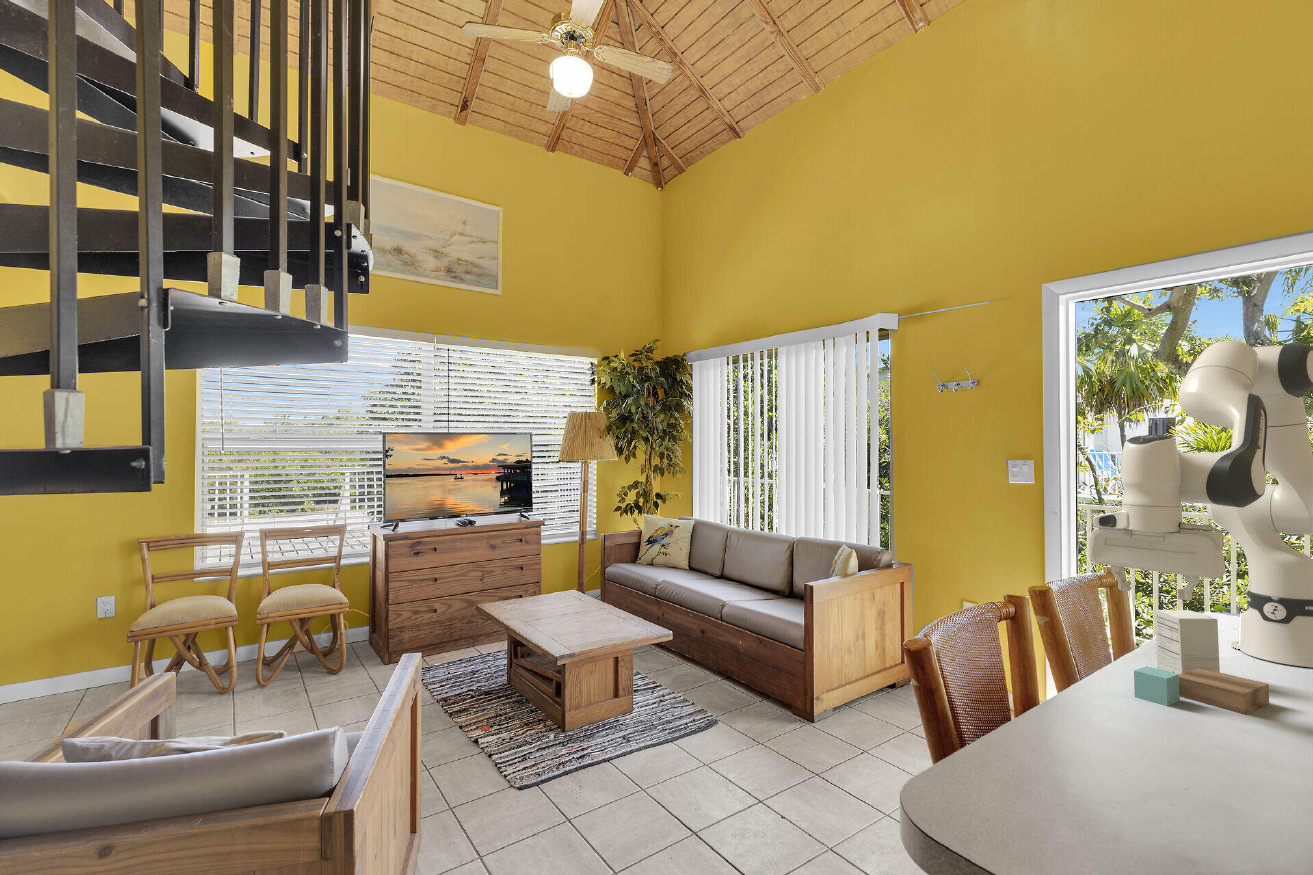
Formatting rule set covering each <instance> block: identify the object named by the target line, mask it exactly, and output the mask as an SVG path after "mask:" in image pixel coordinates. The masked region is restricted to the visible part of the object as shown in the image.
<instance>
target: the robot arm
mask: <svg viewBox="0 0 1313 875" xmlns="http://www.w3.org/2000/svg"><path fill="white" fill-rule="evenodd" d="M1312 389H1313V347H1312V346H1311V345H1309V344H1306V343H1305V344H1304V343H1303V344H1302V343H1286V344H1284V345H1265V346H1264V345H1263V346H1251V345H1250V344H1247V343H1245V342H1241V341H1236V340H1223V341H1218V342H1215V343H1213V344H1211V345H1209V346H1207V347H1206V348H1205V349H1204V350H1203V351H1202V352H1201V353H1200V355H1199V356H1197V357H1196V358H1194V359H1193V360H1192V361H1191V362H1190V363H1189V364H1187V366H1186V369H1185V370H1184V378H1183V380H1182V382H1181V385H1180V387H1179V390H1178V396H1177V398H1178V403H1179V405H1180V406H1179V407H1181V409H1182V410H1183V412H1184V413H1186V414H1187V415H1188V416H1189V417H1190V418H1192V419H1193V420H1195V421H1197V422H1199V423H1201V424H1202V423H1203V424H1204V425H1209V426H1215V427H1222V428H1225V429H1226V428H1227V429H1230V430H1232V436H1231V446H1230V448H1228V449H1225V450H1221V451H1216V452H1181V451H1180V450H1178V446H1177V442H1176V438H1175V437H1174V436H1172V435H1169V434H1146V435H1137V436H1133V437H1130V438H1129V439H1127V440H1125V441H1124V444H1123V447H1122V454H1121V462H1120V482H1121V485H1122V489H1123V496H1122V499H1121V510H1117V511H1112V512H1109V513H1104V514H1099V515H1096V516H1094V517H1093V518H1092V523H1093V524H1092V525H1093V526H1095V528H1094V529H1092V531H1091V533H1090V536H1089V544H1088V545H1089V548H1088V552H1089V553H1088V555H1089V559H1090V560H1091V561H1092V562H1093V564H1097V565H1105V566H1110V572H1111V573H1112V576H1114V578H1115V580H1116V581H1117V585H1118V586H1117V589H1118V590H1119V591H1124V592H1125V591H1126V592H1130V591H1131V590H1132V586H1131V585H1132V581H1131V580H1127V579H1126V577H1125V576H1124V574H1123V572H1125V568H1128V569H1136V570H1143V571H1152V572H1160V573H1167V574H1173V575H1174V574H1175V575H1181V576H1182V575H1183V576H1184V581H1185V582H1187V584H1186V586H1185V587H1184V588H1179V589H1177V594H1178V596H1177V599H1178V600H1182V601H1188V602H1189V601H1192V599H1193V591H1194V589H1195V588H1196V587H1197V585H1198V584H1199V583H1200V581H1201V580H1200V578H1204V579H1205V578H1206V579H1212V580H1213V579H1218V578H1221V577H1222V576H1224V575H1225V573H1226V562H1225V558H1224V552H1223V548H1224V544H1225V542H1224V541H1225V540H1224V538H1225V537H1224V534H1223V532H1222V531H1221V530H1220V529H1218V528H1217V527H1213V525H1211V524H1196V523H1192V522H1191V523H1189V522H1187V523H1186V522H1183V507H1182V506H1183V504H1182V503H1187V504H1203V505H1205V507H1206V508H1205V509H1206V512H1207V514H1208V515H1209V517H1210V519H1211V520H1212V521H1213V522H1214V523H1215V524H1217V525H1218V526H1220V528H1223V529H1224V530H1226V531H1227V532H1228V533H1229V534H1230V535H1232V537H1233V538H1234V539H1235V540H1236V542H1237V543H1238V544H1239V546H1240V547H1241V548H1242V551H1243V552H1244V555H1245V558H1246V559H1245V560H1246V563H1247V570H1248V582H1249V590H1247V595H1246V600H1247V606H1248V609H1247V610H1246V611H1243V612H1242V613H1240V615H1239V629H1238V630H1239V631H1238V632H1239V635H1238V637H1239V638H1238V641H1235V642H1233V641H1232V642H1231V643H1230V647H1231V648H1232V647H1234V648H1233V649H1235V648H1236V649H1235V650H1238V649H1240V650H1239V651H1241V652H1242V653H1244V654H1246V655H1249V656H1251V657H1253V658H1258V659H1261V660H1265V661H1268V662H1274V663H1278V664H1283V665H1289V666H1290V665H1291V666H1297V667H1306V668H1313V558H1311V557H1310V556H1309V555H1307V554H1306V553H1304V552H1302V551H1299V550H1297V549H1295V548H1292V547H1290V546H1289V545H1287V543H1285V542H1284V540H1283V539H1282V537H1281V534H1294V535H1304V536H1305V535H1306V536H1307V535H1308V536H1313V451H1312V446H1311V442H1310V441H1311V440H1310V436H1309V427H1308V418H1307V412H1306V407H1305V403H1304V399H1303V396H1304V395H1305V393H1307V392H1310V391H1312ZM1266 472H1267V473H1269V474H1270V475H1272V476H1273V477H1274V478H1275V480H1276V481H1277V482H1278V483H1277V484H1270V483H1269V484H1267V476H1266Z"/></svg>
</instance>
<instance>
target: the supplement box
mask: <svg viewBox="0 0 1313 875" xmlns="http://www.w3.org/2000/svg"><path fill="white" fill-rule="evenodd" d="M1154 615H1155V617H1154V618H1155V641H1156V642H1155V643H1156V644H1155V645H1156V647H1155V648H1156V667H1157V668H1156V669H1160V670H1164V671H1168V672H1172V673H1176V674H1182V673H1185V672H1188V671H1191V670H1195V669H1198V668H1203V669H1207V670H1212V671H1216V672H1220V673H1221V671H1220V668H1221V667H1220V666H1221V665H1220V649H1219V647H1220V646H1219V644H1220V643H1219V626H1218V618H1216V617H1213V616H1210V615H1207V614H1204V613H1200V612H1197V611H1193V610H1189V609H1188V610H1186V609H1185V610H1184V609H1177V610H1176V609H1173V610H1172V609H1154Z"/></svg>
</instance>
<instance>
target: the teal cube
mask: <svg viewBox="0 0 1313 875" xmlns="http://www.w3.org/2000/svg"><path fill="white" fill-rule="evenodd" d="M1133 678H1134V679H1133V680H1134V681H1133V682H1134V683H1133V684H1134V685H1133V687H1134V698H1137V699H1140V700H1144V701H1147V702H1149V703H1153V704H1157V705H1161V706H1164V707H1169V706H1171V705H1175V704H1176V703H1179V702H1181V697H1180V693H1179V674H1176V673H1172V672H1168V671H1164V670H1160V669H1158V668H1155V667H1152V666H1148V665H1146V666H1143V667H1140V668H1137V669H1135V670H1133Z"/></svg>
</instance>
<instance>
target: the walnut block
mask: <svg viewBox="0 0 1313 875" xmlns="http://www.w3.org/2000/svg"><path fill="white" fill-rule="evenodd" d="M1269 691H1270V689H1269V683H1267V682H1262V681H1257V680H1254V679H1249V678H1244V677H1240V676H1236V675H1232V674H1227V673H1224V672H1221V671H1220V672H1216V671H1212V670H1207V669H1203V668H1198V669H1195V670H1191V671H1188V672H1185V673H1182V674H1179V693H1180V698H1184V699H1186V700H1190V701H1194V702H1196V703H1197V702H1198V703H1201V704H1203V705H1208V706H1212V707H1215V708H1218V709H1222V710H1227V711H1230V712H1232V713H1233V712H1234V713H1237V714H1240V715H1244V716H1245V715H1248V714H1250V713H1252V712H1255V711H1257V710H1259V709H1262V708H1264V707H1267V706H1269V705H1270V693H1269Z"/></svg>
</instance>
